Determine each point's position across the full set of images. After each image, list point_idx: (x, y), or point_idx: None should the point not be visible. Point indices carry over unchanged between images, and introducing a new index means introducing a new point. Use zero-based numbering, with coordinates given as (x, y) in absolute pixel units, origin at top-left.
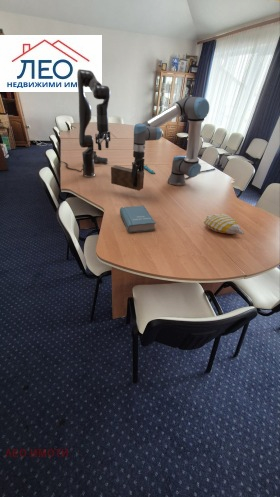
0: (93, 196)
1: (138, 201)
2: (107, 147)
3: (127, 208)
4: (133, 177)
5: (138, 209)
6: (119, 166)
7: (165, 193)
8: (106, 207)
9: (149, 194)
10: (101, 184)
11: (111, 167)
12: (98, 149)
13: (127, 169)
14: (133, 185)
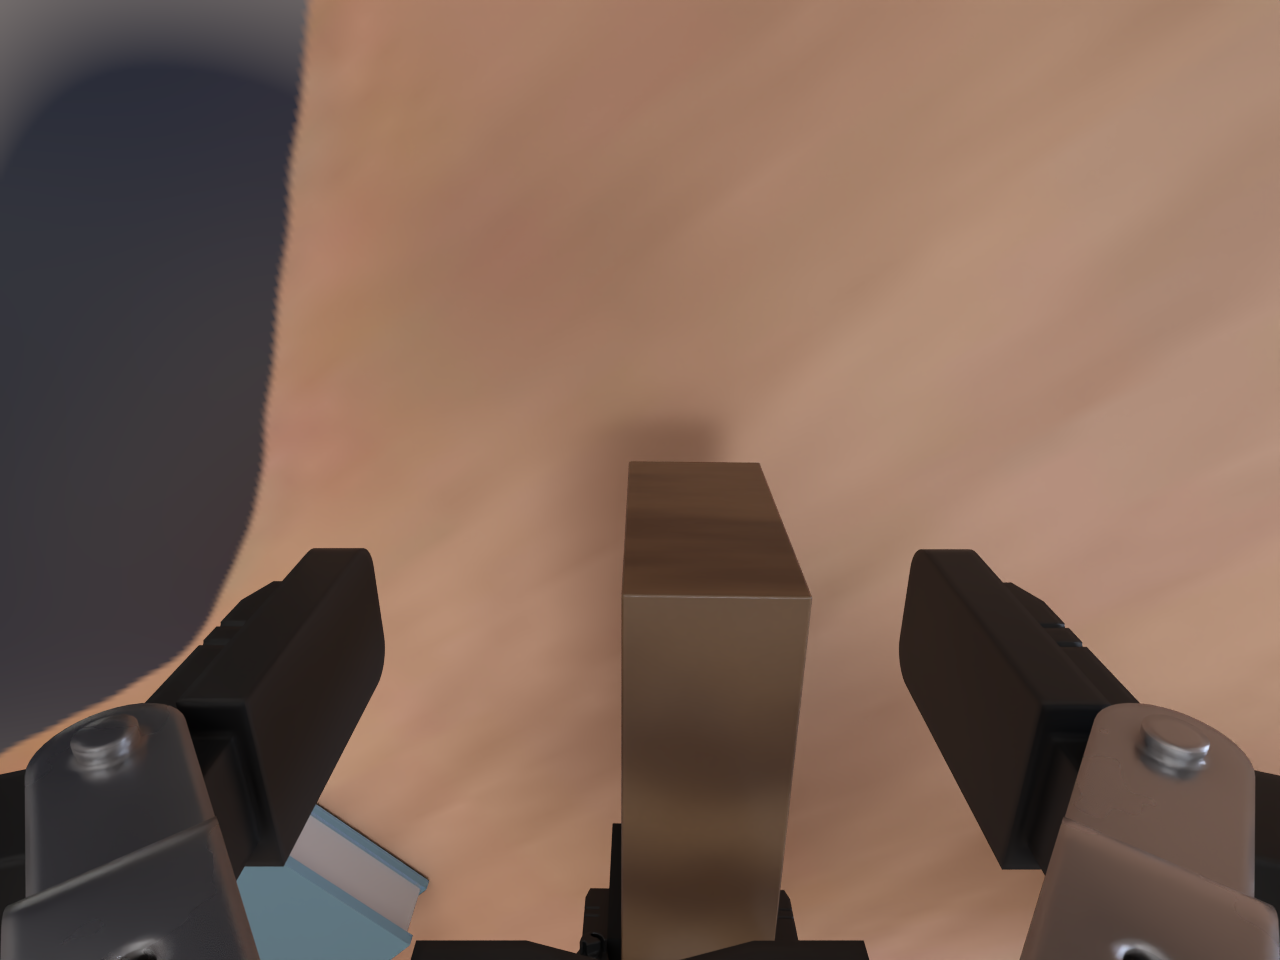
0: (382, 278)
1: (616, 757)
2: (909, 662)
3: (243, 871)
4: (578, 952)
5: (303, 941)
6: (776, 699)
7: (974, 872)
8: (265, 584)
9: (858, 768)
10: (846, 71)
11: (621, 604)
12: (314, 556)
13: (699, 877)
14: (612, 833)
